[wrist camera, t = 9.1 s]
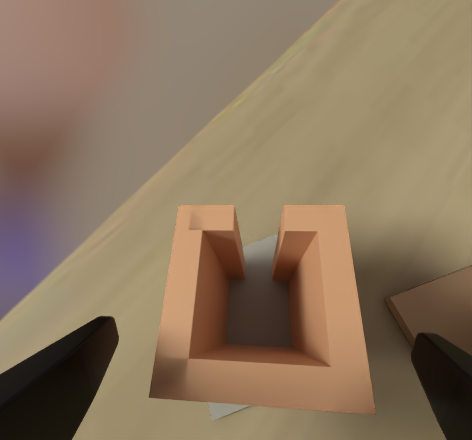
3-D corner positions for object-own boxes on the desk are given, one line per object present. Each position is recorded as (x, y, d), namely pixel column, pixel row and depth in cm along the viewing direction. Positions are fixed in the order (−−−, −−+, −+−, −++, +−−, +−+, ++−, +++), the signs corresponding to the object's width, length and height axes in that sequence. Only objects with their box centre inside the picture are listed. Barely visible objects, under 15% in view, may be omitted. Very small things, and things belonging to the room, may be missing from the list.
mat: (355, 360, 15) (358, 361, 14) (213, 417, 14) (212, 420, 14) (292, 230, 19) (293, 228, 18) (177, 271, 18) (175, 270, 17)
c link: (309, 367, 14) (376, 415, 6) (208, 361, 15) (148, 397, 7) (302, 266, 17) (344, 205, 9) (216, 264, 17) (178, 205, 9)
